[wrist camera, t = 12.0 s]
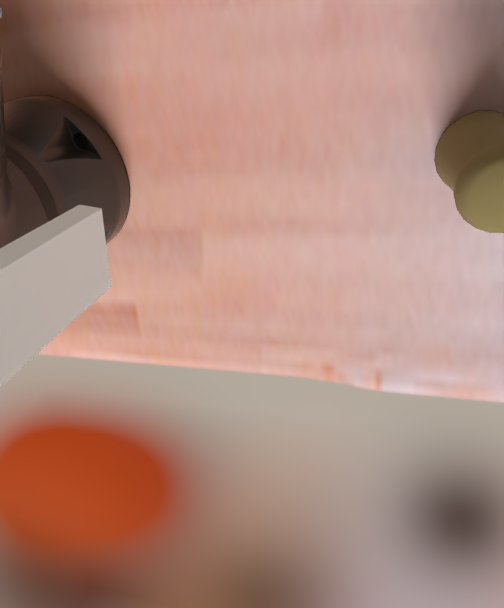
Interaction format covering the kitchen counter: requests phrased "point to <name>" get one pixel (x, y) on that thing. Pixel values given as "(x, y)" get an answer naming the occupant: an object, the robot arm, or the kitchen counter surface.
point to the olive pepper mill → (475, 168)
